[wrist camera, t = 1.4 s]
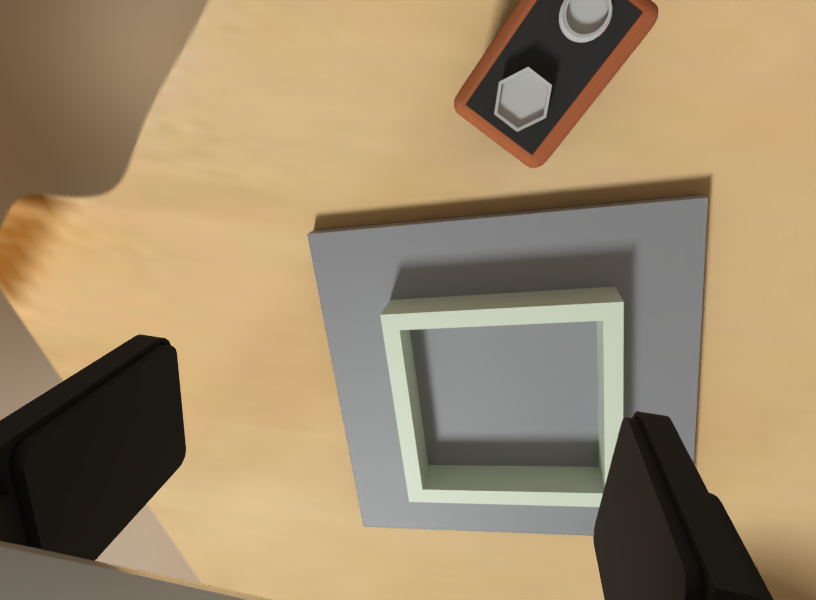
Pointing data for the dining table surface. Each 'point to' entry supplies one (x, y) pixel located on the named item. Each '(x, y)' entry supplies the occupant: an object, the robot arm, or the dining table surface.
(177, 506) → the dining table surface
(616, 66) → the battery
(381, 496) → the slot tray
